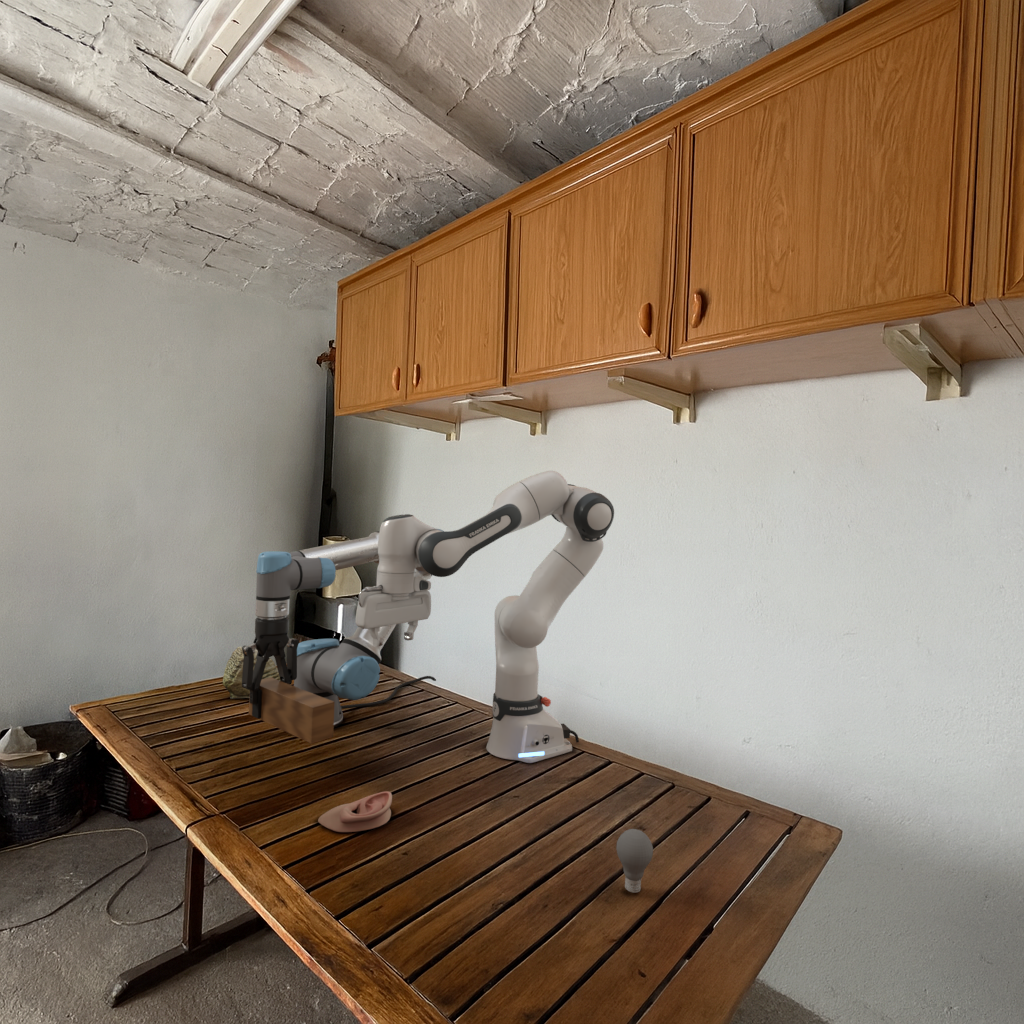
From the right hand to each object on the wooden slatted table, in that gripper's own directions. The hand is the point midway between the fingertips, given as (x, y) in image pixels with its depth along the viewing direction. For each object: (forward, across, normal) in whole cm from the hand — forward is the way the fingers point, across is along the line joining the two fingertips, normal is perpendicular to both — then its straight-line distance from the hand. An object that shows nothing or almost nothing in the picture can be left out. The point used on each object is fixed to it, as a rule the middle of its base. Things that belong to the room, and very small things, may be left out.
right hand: (393, 642), depth 148 cm
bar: (+19, -16, +16) cm, 30 cm away
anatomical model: (+30, -20, -13) cm, 38 cm away
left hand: (+19, -16, +25) cm, 35 cm away
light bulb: (+30, -3, -65) cm, 72 cm away
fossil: (+30, +6, +71) cm, 78 cm away
